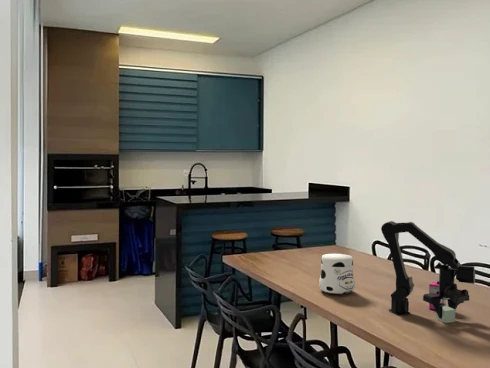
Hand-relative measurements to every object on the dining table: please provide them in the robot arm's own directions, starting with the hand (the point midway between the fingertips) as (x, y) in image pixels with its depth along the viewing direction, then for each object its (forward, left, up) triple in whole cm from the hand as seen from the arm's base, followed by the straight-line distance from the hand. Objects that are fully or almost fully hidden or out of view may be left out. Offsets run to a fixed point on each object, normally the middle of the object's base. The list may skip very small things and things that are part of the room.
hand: (445, 317), depth 189 cm
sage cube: (0, 0, -1) cm, 1 cm away
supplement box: (+7, +13, -1) cm, 15 cm away
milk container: (-23, +49, -1) cm, 54 cm away
